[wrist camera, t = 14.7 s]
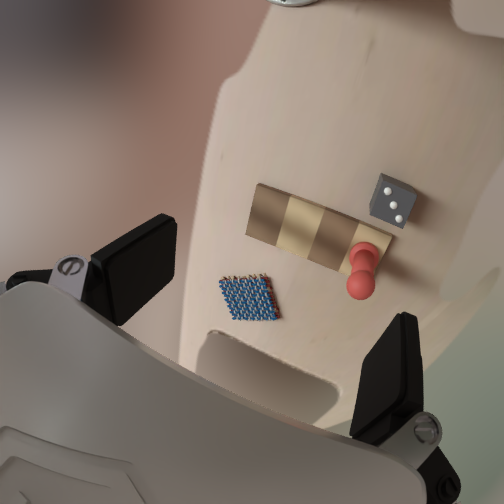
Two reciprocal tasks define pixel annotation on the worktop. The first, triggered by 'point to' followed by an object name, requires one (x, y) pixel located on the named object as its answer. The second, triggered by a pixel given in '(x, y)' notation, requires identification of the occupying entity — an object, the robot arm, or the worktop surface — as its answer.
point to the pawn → (362, 270)
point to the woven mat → (250, 298)
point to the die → (392, 201)
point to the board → (310, 229)
